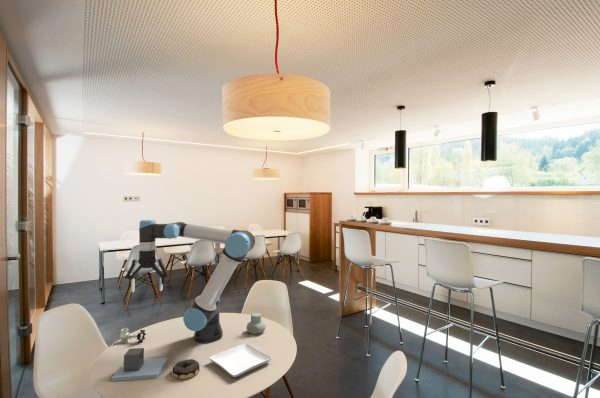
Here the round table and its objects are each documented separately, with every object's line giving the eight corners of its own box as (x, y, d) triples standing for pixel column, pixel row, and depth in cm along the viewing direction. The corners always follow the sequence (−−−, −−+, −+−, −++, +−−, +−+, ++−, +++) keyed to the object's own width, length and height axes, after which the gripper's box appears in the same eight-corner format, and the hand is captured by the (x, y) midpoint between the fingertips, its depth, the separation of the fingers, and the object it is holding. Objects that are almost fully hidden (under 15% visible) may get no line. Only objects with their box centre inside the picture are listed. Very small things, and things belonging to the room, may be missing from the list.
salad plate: (273, 364, 141) (273, 356, 141) (233, 383, 125) (233, 375, 125) (246, 348, 155) (246, 342, 155) (207, 364, 140) (207, 356, 140)
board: (167, 360, 143) (167, 346, 143) (157, 377, 129) (157, 362, 129) (126, 363, 140) (126, 349, 140) (111, 381, 126) (111, 365, 126)
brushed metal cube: (143, 363, 137) (143, 347, 138) (138, 370, 131) (138, 354, 132) (129, 364, 137) (129, 348, 137) (123, 371, 131) (123, 355, 131)
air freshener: (267, 330, 178) (267, 313, 178) (262, 336, 170) (262, 318, 170) (250, 328, 181) (250, 311, 181) (244, 333, 173) (244, 316, 173)
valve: (116, 344, 160) (138, 345, 159) (116, 331, 160) (138, 332, 159) (124, 339, 166) (145, 339, 165) (124, 326, 166) (146, 327, 165)
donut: (190, 363, 141) (190, 355, 141) (205, 372, 133) (205, 363, 133) (166, 374, 132) (167, 364, 132) (182, 384, 125) (182, 374, 125)
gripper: (174, 248, 164) (174, 287, 163) (124, 249, 160) (123, 290, 159) (171, 250, 156) (170, 291, 156) (118, 251, 152) (117, 294, 152)
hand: (147, 291), depth 158 cm, fingers open, 13 cm apart
